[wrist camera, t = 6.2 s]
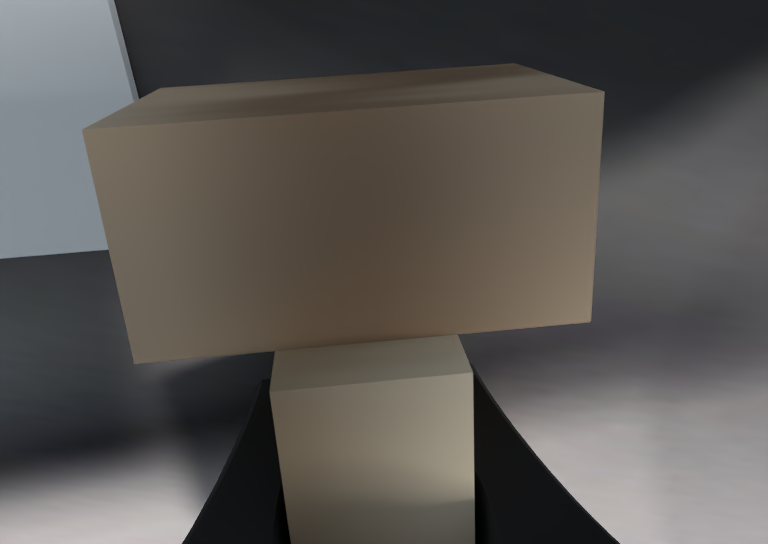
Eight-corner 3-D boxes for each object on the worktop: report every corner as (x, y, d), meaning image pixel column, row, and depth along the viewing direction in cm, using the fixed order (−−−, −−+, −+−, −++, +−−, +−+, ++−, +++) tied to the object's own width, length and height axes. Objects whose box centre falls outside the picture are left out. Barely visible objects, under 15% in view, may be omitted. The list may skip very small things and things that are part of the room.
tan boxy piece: (515, 63, 12) (642, 102, 7) (507, 635, 17) (579, 878, 12) (160, 88, 11) (48, 148, 7) (262, 664, 16) (239, 926, 12)
